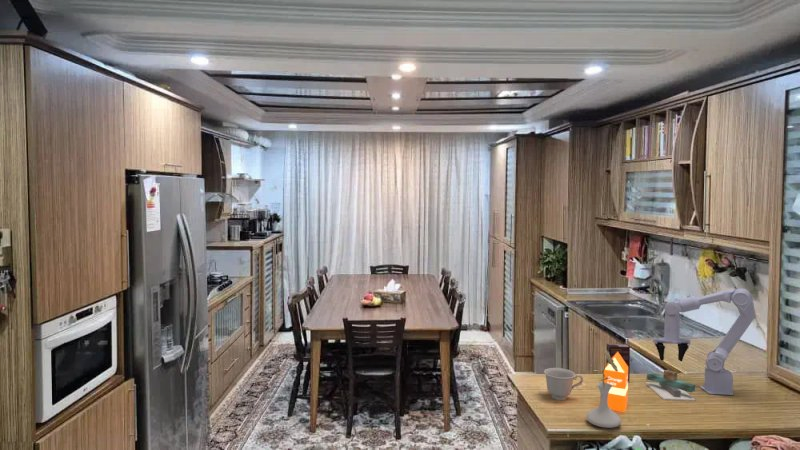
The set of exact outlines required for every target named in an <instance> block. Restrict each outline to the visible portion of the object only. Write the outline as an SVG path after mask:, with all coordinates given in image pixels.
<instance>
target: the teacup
mask: <svg viewBox="0 0 800 450" xmlns="http://www.w3.org/2000/svg"><path fill="white" fill-rule="evenodd" d="M543 373H544V375H545V379H546V389H547V392H549V394H551V398H552V399H553V400H557V401H564V400H565V401H566V400H567V399H568V398H567V397H568V396H569V395H571V393H572V390H574V388H576V387H580V386H582V384H583V382H584V377H583V375H581V374H580V373H577V374H576V373H575V372H574V371H573V370H569V369H567V368H563V367H550V368H546V369H544V371H543ZM578 378H580V381H579V382H578V383H575V384H573V383H574V380H575V381H577V379H578Z"/></svg>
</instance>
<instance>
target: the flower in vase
mask: <svg viewBox="0 0 800 450" xmlns="http://www.w3.org/2000/svg"><path fill="white" fill-rule="evenodd" d="M603 353H604V355H605V358H607V359H608V362H607V364H608V363H609V364H611V366H612V367H613V369H614V370H615V371H616V372H617V371H618V369H617V366H616V365H615V364H614V363H613V362H614V360H613V359H611V357H610V354H609V353H607V350H604V352H603ZM607 364H605V365H604V367H603V370H601V373H602V379H601V381H602V382H601V381H600V382H597V383H596V386H597V388H598V389H599V393H600V403H599V405H598V406H596V407H594V408H593V409H591V410H590V411H587V413H586V416H585V417H586V419H587V421H588V423H590V424H592V425H594V426H597V427H600V428H605V429H606V428H607V429H613V428H618V427H619V426H620V425H622V420H621V417H620V416H618V414H617V413H616V412H615V411H614V410H611V409H610V408H609V406H608V393H609V390H610V388H611V387H612V385H611V384H608V383H604V380H606V379H609V378H608V377H606V378H605V379H604V377H605V375H604V370H605V368H606V366H607Z"/></svg>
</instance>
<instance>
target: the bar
mask: <svg viewBox="0 0 800 450" xmlns="http://www.w3.org/2000/svg"><path fill="white" fill-rule="evenodd" d="M646 380H649V381H652V382H653V383H661V384H664V385H668V386H671V387H674V388H677V389H681V390H684V391H685V392H687V393H693V392H695V391H696V384H694V383H690V382H687V381H682V380H680V379H678V372H677V371H674V370H671V369H666V370H663V374H659V373H656V372H653V371H650V372H647V373H646Z"/></svg>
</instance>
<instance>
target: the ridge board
mask: <svg viewBox="0 0 800 450" xmlns="http://www.w3.org/2000/svg"><path fill="white" fill-rule="evenodd" d="M645 385H647V387H648V388H650V389H651V390H652V391H653V392H654V393H655V394H657V395H658V396H659V397H660V398H661V399H662V400H663V401H681V402H696V401H697V400H696V398H695V397H693V396H691V394H689V392H687V391H684V390H681V389H677V388H674V387H671V386H668V385H664V384H661V383H658V382H646V381H645Z"/></svg>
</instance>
